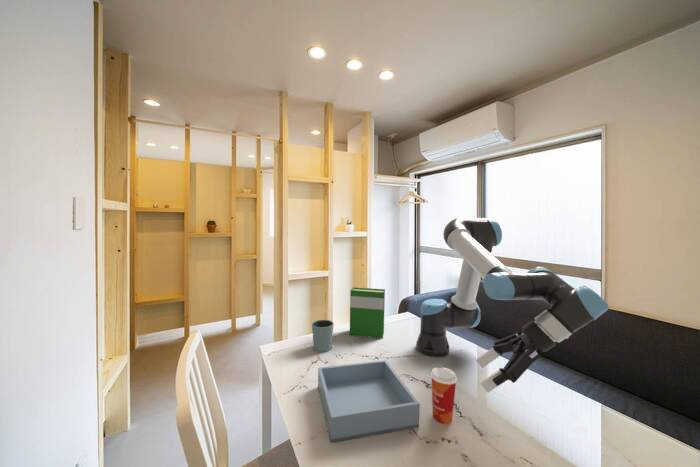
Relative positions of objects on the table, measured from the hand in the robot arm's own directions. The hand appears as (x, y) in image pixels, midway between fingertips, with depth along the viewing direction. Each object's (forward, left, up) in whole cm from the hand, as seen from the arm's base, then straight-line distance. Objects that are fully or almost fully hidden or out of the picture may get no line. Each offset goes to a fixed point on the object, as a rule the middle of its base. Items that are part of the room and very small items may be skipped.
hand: (481, 374), depth 79 cm
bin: (+30, -17, -16) cm, 38 cm away
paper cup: (+8, -6, -16) cm, 19 cm away
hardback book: (+11, -72, -16) cm, 75 cm away
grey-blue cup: (+37, -60, -16) cm, 72 cm away
